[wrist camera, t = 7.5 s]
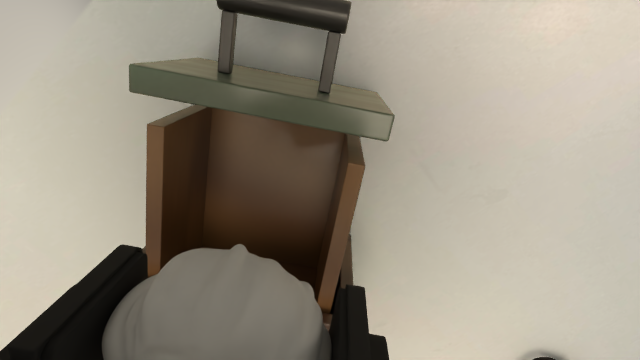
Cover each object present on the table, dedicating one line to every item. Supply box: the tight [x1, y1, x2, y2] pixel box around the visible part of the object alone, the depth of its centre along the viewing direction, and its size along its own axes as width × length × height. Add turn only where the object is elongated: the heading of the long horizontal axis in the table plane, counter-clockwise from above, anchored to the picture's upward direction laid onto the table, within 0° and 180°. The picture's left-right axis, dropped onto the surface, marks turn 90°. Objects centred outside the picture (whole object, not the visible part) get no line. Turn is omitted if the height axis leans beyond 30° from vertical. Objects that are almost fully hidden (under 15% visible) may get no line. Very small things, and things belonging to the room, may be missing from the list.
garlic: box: [102, 244, 332, 360], centre depth 9 cm, size 6×5×5 cm
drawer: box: [129, 0, 394, 314], centre depth 20 cm, size 18×11×8 cm, turn 170°
